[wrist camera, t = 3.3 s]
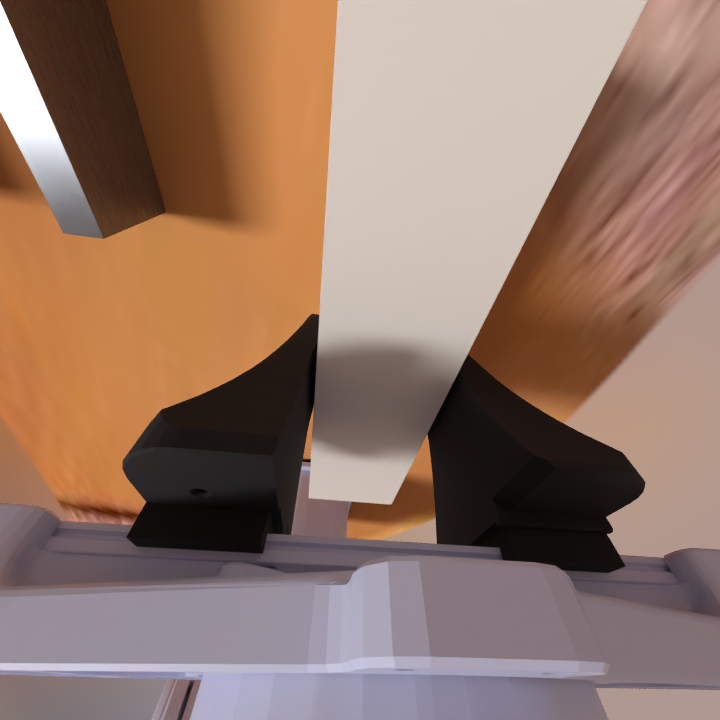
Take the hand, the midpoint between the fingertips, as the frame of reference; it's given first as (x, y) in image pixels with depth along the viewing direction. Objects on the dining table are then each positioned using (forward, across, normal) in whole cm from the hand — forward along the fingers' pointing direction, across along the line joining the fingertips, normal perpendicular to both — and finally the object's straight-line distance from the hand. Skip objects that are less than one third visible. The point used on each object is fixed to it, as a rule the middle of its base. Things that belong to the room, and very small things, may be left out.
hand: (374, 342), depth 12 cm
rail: (+2, 0, -1) cm, 2 cm away
